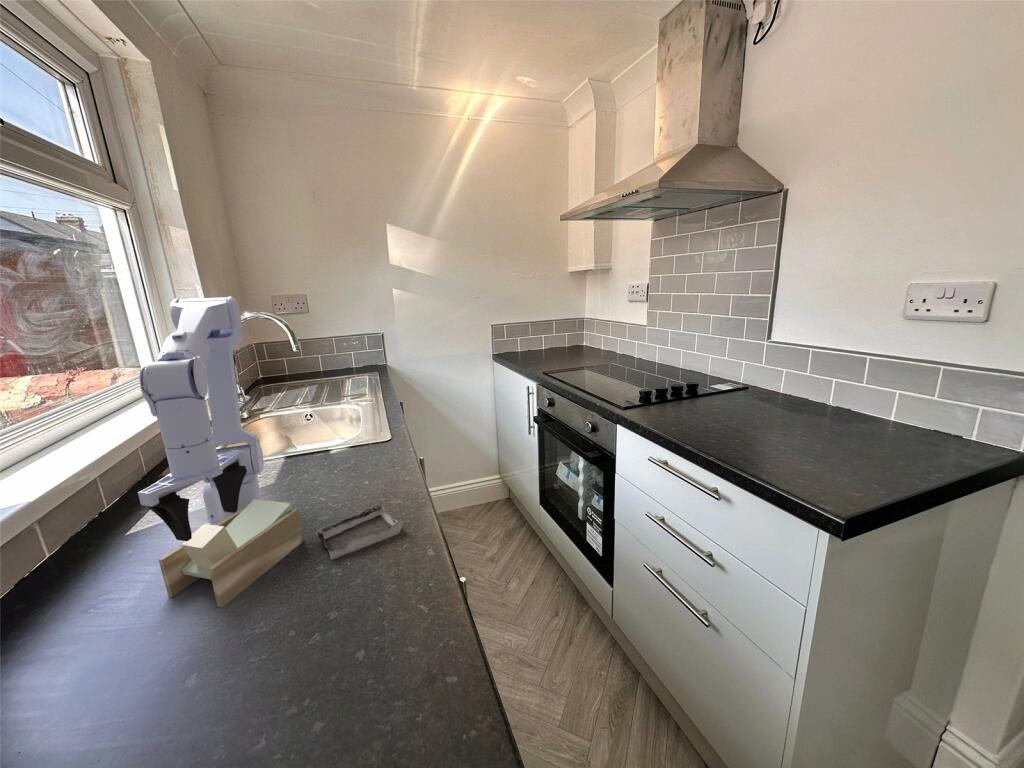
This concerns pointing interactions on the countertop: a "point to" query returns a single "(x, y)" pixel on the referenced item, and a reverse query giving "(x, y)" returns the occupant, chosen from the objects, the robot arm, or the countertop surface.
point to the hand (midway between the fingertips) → (208, 524)
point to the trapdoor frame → (237, 559)
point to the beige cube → (209, 545)
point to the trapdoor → (246, 527)
